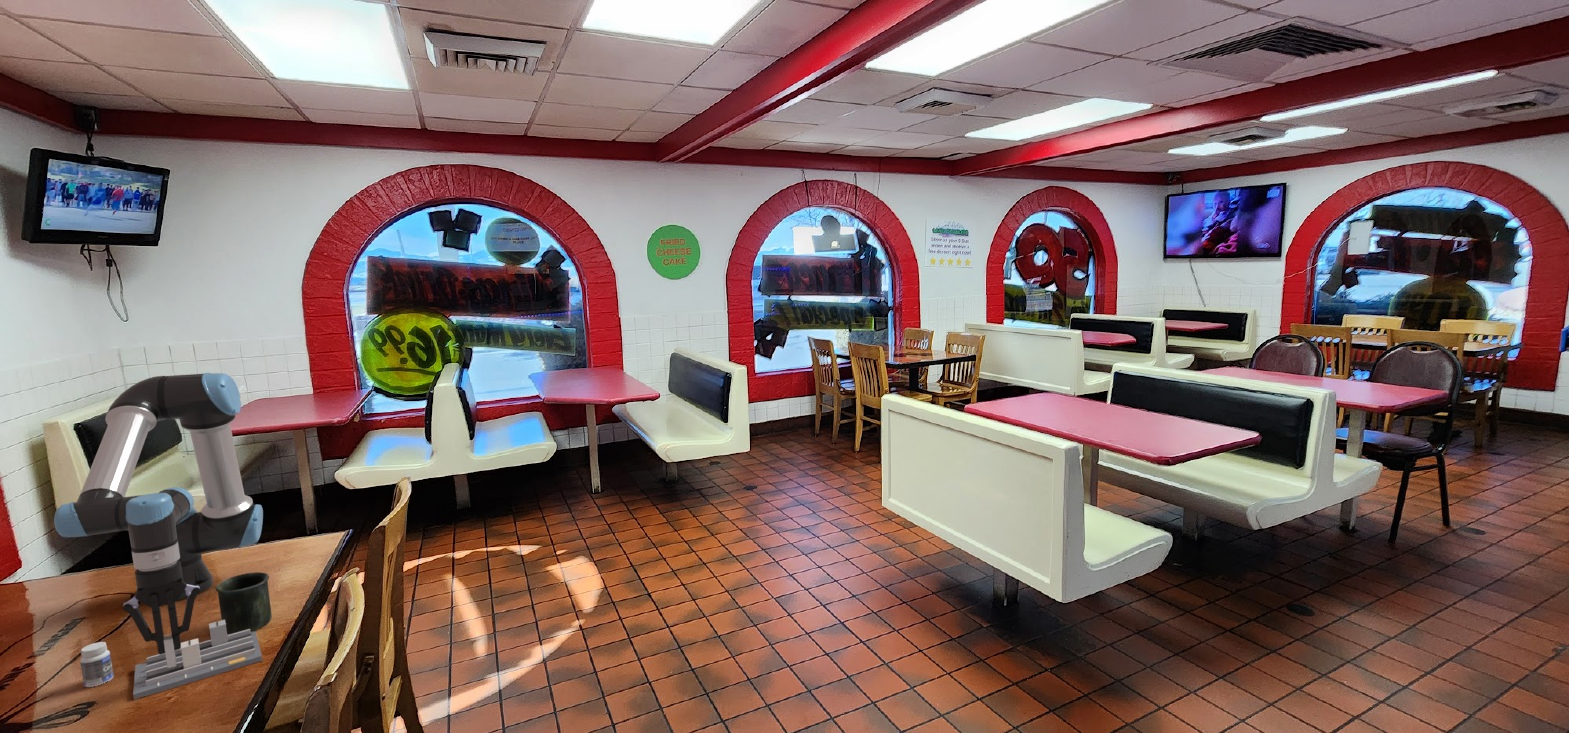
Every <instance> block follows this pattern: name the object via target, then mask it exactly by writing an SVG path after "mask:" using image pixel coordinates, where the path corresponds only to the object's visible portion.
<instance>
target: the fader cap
mask: <svg viewBox="0 0 1569 733" xmlns="http://www.w3.org/2000/svg"><path fill="white" fill-rule="evenodd" d="M199 641H200V640H199V638H198V637H197V638H193V639H191V640H186V641H183V642H182V641H181V651H182V659H183V666H184V669H186V668H189V667H193V666H196V665H200V664H201V656H200V648H199V643H200V642H199Z"/></svg>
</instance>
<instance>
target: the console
mask: <svg viewBox="0 0 1569 733" xmlns="http://www.w3.org/2000/svg"><path fill="white" fill-rule="evenodd" d="M208 626H209V627H208V628H209V634H210V639H209V640H206V641H201V642H199V648H200V656H201V664H200V665H196V666H193V667H189V668H186V669H184V666H183V659H182V651H181V648H180V649H178V650H175V655H176V666H174V667H171V668H167V661H166V654H165V653H164V654H161V655H160V654H159V653H158V654H156V655H151V656H148V657H146V661H144V662H142V663H138V664H136V665H134V680H133V692H132V695H133V696H132V697H133V700H134V699H135V700H139V699H141V698H140V697H142V698H144V697H143V696H145V697H149V696H151V695H154V694H158V693H161V692H164V691H167V690H170V689H174V688H178V687H181V686H184V685H186V684H190V683H194V682H197V681H201V680H204V679H206V678H210V677H213V676H216V675H220V674H223V673H226V672H230V671H232V670H235V669H239V668H242V667H246V666H249V665H252V664H255V663H259V662H263V656H262V655H263V654H262V650H261V648H260V644H259V640H258V636H257V630H255V631H252V632H250V629H248V630H244V631H241V632H237V633H233V634H227V630H226V623H225V620H219V621H214V622H211V623H208ZM138 698H139V699H138Z"/></svg>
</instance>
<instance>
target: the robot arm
mask: <svg viewBox="0 0 1569 733" xmlns="http://www.w3.org/2000/svg"><path fill="white" fill-rule="evenodd" d="M109 406H110V407H109V408H108V410H107V412H106V415H105V418H104V419H105V423H106V425H107V426H106V430H105V432H104V434H103V437H102V438H101V441H100V444H99V447H98V449H97V452H96V454H95V457H94V459H93V462H92V464H91V467H90V468H89V471H88V474H87V476H86V479H85V481H84V484H83V486H82V489H81V491H80V494H79V496H78V498H77V500H76V501H75V502H74V501H72V502H68V503H63V504H61V505H60V506H59V507H58V508H57V509H56V510H55V514H54V518H53V521H54V522H53V523H54V528H55V531H56V532H57V534H58V535H59V536H61V537H63V538H78V537H89V536H93V535H102V534H109V533H115V532H123V531H128V535H129V541H130V547H131V548H130V549H131V556H132V561H133V567H134V569H136V570H135V571H134V577H135V583H136V591H135V593H134V596H133V597H132V598H131V599H130V600H126V601H124V602H123V605H122V610H123V611H125V612H126V613H128V614H129V615H130V616H131V618H132V619H133V621H134V623H135V625H136V627H137V629H138V631H139V633H140V634H141V637H142V638H143V640H144V641H145V642H147V643H149V642H155V643H156V648H157V653H158V654H160V655H161V654H164V653H165V654H166V661H167V668H171V667H174V666H176V655H175V650H178V649H180V648H181V643H182V640H181V635H182V634H183V633H186V632H188V631H189V630H190V628H191V621H192V616H193V611H194V605H195V599H196V597H197V596H198V594H201V593H203V592H206V591H207V590H208V589H210V588H211V587H212V586H213V585H214V579H213V575H212V573H211V571H210V570H209V568H208V566H207V565H206V563H205V561H203V556H202V554H203V553H209V552H216V551H223V550H230V549H237V548H238V549H241V548H243V547H249V546H253V545H255V544H257V543H258V542H259V539H260V537H261V535H262V529H263V523H264V522H263V521H264V520H263V519H264V510H263V507H262V505H261V504H254V502H253V501H254V500H253V498H252V497H251V496H249V495H246V494H245V491H244V490H245V489H244V486H243V480H242V476H241V471H240V466H239V462H238V456H237V452H236V447H235V446H236V445H235V442H234V438H233V432H232V428H231V427H232V426H231V424H232V423H233V422H234V421H235V420H236V416H237V415H238V414H239V413H240V411H241V409H242V402H241V394H240V391H239V388H238V386H237V383H236V382H235V380H234V378H233V377H231V375H229V374H227V373H223V372H221V373H219V372H217V373H216V372H215V373H211V372H205V373H193V374H191V373H190V374H178V375H156V376H152V377H149V378H145V379H143V380H141V381H138V382H137V383H135V384H133V385H131V386H130V387H129V388H126V389H125V390H124V391H123V392H122V393H120V395H118V397H117V398H116V399H115V400H114V401H113V402H112V403H111V405H109ZM165 420H167V421H168V420H170V421H171V420H179V423H180V426H181V428H182V429H183V430H186V431H189V433H190V438H191V442H192V447H193V450H194V454H195V458H196V463H197V466H198V467H197V468H198V471H199V477H200V481H201V485H202V487H203V488H202V490H203V493H204V497H205V501H206V504H205V505H204V506H203V507H202V508H201V511H198V512H197V509H196V508H195V507H194V502H195V500H194V496H193V495H192V494H191V492H190V491H188V489H187V490H186V488H185V489H184V488H182V487H175V486H174V487H168V488H166V489H162V490H160V491H159V492H154V493H153V492H152V493H148V494H140V495H133V496H132V495H131V496H126V494H127V491H128V489H129V486H130V483H131V480H132V478H133V475H134V472H135V470H136V466H137V464H138V461H139V459H140V455H141V452H142V450H143V447H144V445H145V441H146V439H147V436H148V433H149V432H151V430H153V429H154V428H155V427H156V426H157V423H158V422H160V421H165ZM184 599H186V602H185V607H184V614H183V617H182V622H181V623H182V625H180V626H179V621H178V614H177V607H176V602H177V601H181V600H184ZM139 602H140V603H141V604H144V605H145V606H146V607H148V608H150V609H151V613H152V619H153V620H152V621H153V627H154V632H152V630H151V629H150V627H149V625H148V623H147V621H146V619H145V617H144V616H143V613H142V612H141V610H140V608H139V605H140V604H139ZM163 606H166V607H167V610H168V611H167V612H168V617H169V618H168V619H169V624H170V634H168V635H164V634H165V633H164V627H163V620H162V619H163V618H162V614H161V612H162V611H161V607H163Z"/></svg>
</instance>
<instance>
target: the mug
mask: <svg viewBox="0 0 1569 733" xmlns="http://www.w3.org/2000/svg"><path fill="white" fill-rule="evenodd" d="M269 579H270V576H269V574H268V573H266V572H259V571H258V572H247V573H242V574H238V575H234V576H231V577H229V578H226V579H224V580H222V581H221V582H219V583H218V584H217V585H216V586H215V587H214V588H215V589H214V590H215V591H216V592H217V595H218V603H219V609H220V610H219V611H220V617H221V620H220V621H222V620H225V623H226V630H227V635H230V634H233V633H237V632H241V631H244V630H248V629H250V632H254V631H257V630H259V629H261V628H264V627H265V626H266V625H269V623H270V622H271V620H272V617H273V614H272V608H271V599H270V592H269V591H270V590H269V582H268V580H269Z"/></svg>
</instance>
